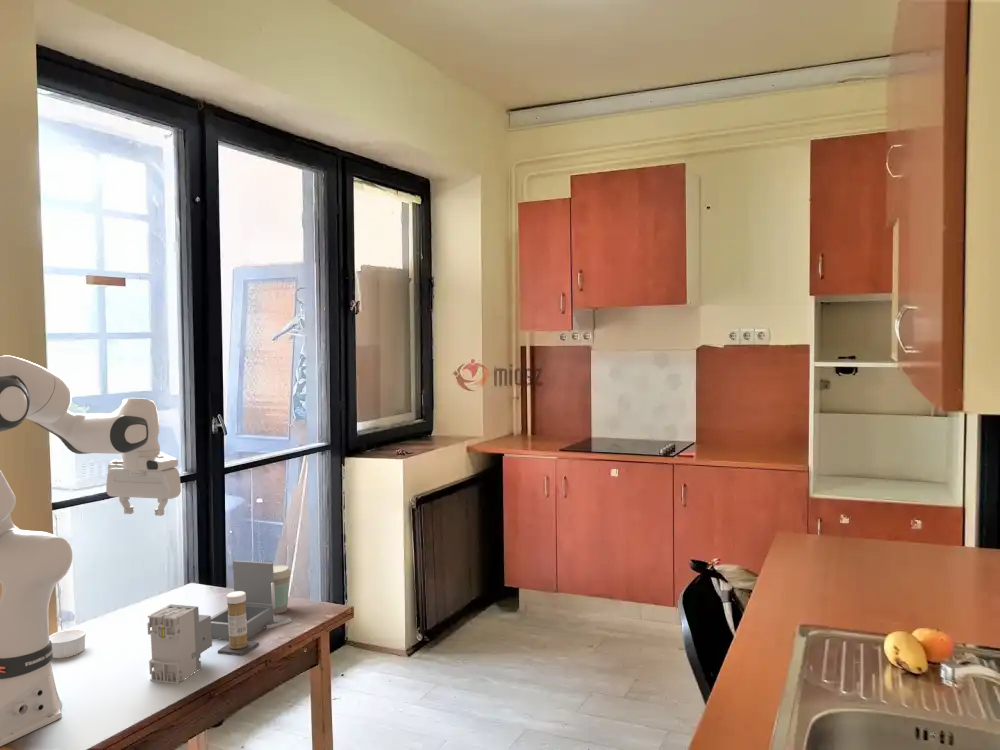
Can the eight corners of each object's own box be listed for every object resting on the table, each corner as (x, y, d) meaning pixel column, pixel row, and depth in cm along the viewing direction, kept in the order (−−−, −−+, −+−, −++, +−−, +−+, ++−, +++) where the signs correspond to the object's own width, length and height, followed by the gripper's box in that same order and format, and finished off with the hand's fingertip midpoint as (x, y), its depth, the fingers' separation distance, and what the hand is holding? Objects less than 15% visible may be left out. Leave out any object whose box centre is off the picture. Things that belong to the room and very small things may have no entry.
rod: (266, 630, 212) (266, 626, 211) (264, 629, 212) (264, 624, 212) (290, 623, 216) (290, 619, 216) (288, 622, 217) (288, 618, 217)
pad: (242, 655, 194) (242, 653, 194) (217, 653, 196) (217, 650, 196) (258, 644, 201) (258, 642, 201) (234, 642, 203) (234, 639, 203)
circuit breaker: (216, 658, 193) (214, 597, 192) (178, 684, 179) (175, 618, 179) (190, 655, 195) (187, 595, 194) (150, 680, 181) (147, 616, 181)
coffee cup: (266, 605, 230) (265, 564, 229) (295, 605, 230) (294, 564, 229) (256, 615, 222) (254, 573, 221) (286, 615, 221) (285, 573, 221)
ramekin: (38, 660, 195) (37, 642, 194) (59, 645, 204) (58, 629, 203) (74, 659, 194) (73, 642, 194) (93, 645, 203) (92, 628, 203)
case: (247, 641, 203) (244, 580, 202) (203, 637, 207) (200, 576, 206) (278, 620, 217) (276, 563, 216) (236, 617, 221) (234, 560, 220)
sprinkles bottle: (245, 641, 202) (243, 589, 201) (249, 647, 198) (247, 594, 197) (227, 645, 200) (224, 592, 199) (230, 651, 196) (228, 597, 195)
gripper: (98, 461, 203) (101, 515, 203) (166, 464, 197) (169, 519, 198) (117, 457, 209) (119, 510, 209) (183, 459, 203) (185, 513, 204)
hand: (144, 514), depth 203 cm, fingers open, 8 cm apart
